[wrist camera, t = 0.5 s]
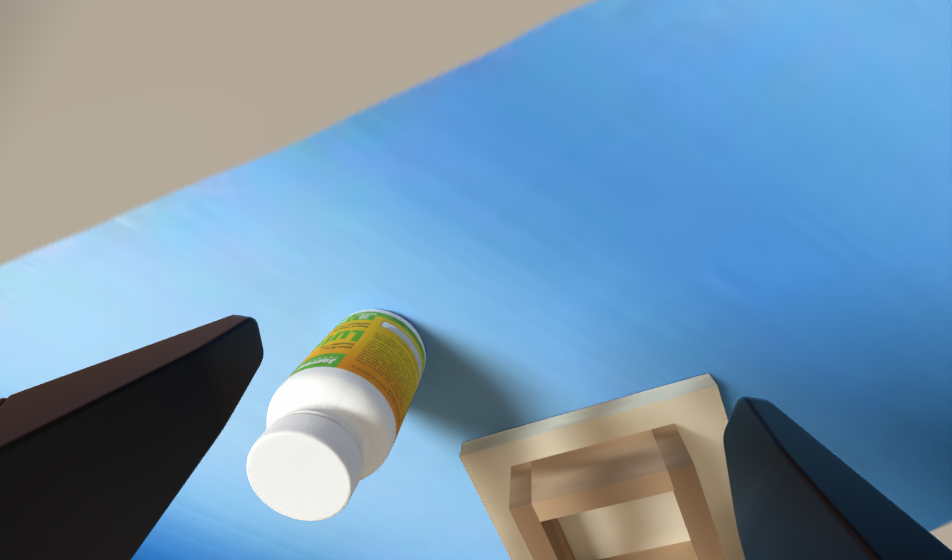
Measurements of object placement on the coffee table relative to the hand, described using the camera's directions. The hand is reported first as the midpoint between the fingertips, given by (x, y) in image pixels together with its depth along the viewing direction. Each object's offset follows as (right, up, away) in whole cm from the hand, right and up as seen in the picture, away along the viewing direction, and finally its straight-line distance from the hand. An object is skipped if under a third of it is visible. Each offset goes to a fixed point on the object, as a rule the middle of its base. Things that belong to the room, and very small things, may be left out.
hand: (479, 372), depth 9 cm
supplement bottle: (-5, -2, +17) cm, 18 cm away
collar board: (+8, -11, +18) cm, 23 cm away
